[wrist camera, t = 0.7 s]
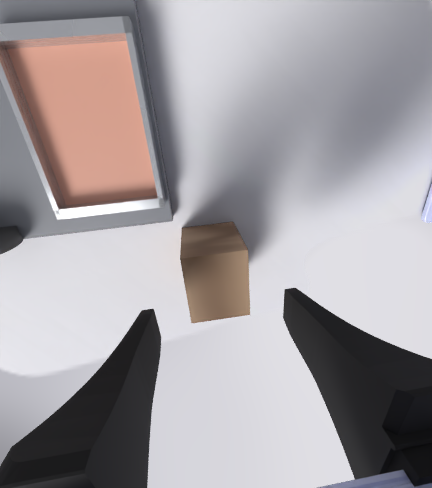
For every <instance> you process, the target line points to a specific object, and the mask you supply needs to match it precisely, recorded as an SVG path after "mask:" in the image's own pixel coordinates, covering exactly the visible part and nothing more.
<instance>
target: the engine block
mask: <svg viewBox="0 0 432 488" xmlns="http://www.w3.org/2000/svg"><path fill="white" fill-rule="evenodd" d="M180 260H181V266H182V271H183V277H184V283H185V288H186V294H187V300H188V305H189V311H190V317H191V322H192V323H197V322H204V321H211V320H218V319H224V318H231V317H238V316H244V315H250V298H249V265H248V249H247V247H246V245H245V243H244V241H243V239H242V238H241V236H240V234H239V232H238V230H237V228H236V226H235V224H234V223H233V222H226V223H218V224H210V225H202V226H194V227H186V228H182V236H181V255H180Z"/></svg>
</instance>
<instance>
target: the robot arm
mask: <svg viewBox="0 0 432 488" xmlns="http://www.w3.org/2000/svg"><path fill="white" fill-rule="evenodd" d="M421 219H422V221H424V222H427V223H430V222H432V184H431V188H430V191H429V194H428V197H427V200H426V204H425V207H424V210H423V213H422V217H421ZM283 318H284V321H285V323H286V326H287V328H288V331H289V333H290V335H291V337H292V339H293V341H294V343H295V344H296V346H297V348H298V350H299V352H300V353H301V355H302V357H303V359H304V360H305V362H306V364H307V366H308V368H309V370H310V371H311V373H312V375H313V377H314V379H315V381H316V383H317V385H318V388H319V390H320V392H321V395H322V397H323V399H324V401H325V404H326V406H327V409H328V411H329V413H330V416H331V418H332V420H333V423H334V425H335V428H336V430H337V433H338V435H339V438H340V440H341V443H342V446H343V448H344V450H345V453H346V456H347V459H348V461H349V464H350V467H351V470H352V472H353V475H354V478H355V480H351V481H346V482H342V483H337V484H332V485H328V486H323V487H318V488H432V359H430V358H426V357H423V356H421V355H418V354H415V353H413V352H410V351H407V350H405V349H402V348H399V347H397V346H395V345H392V344H390V343H387V342H385V341H383V340H381V339H379V338H376V337H374V336H372V335H370V334H368V333H366V332H364V331H362V330H360V329H358V328H356V327H355V326H353V325H351V324H349V323H347V322H345V321H344V320H342V319H341V318H339V317H337V316H336V315H334V314H333V313H331V312H329V311H328V310H326V309H325V308H323V307H322V306H320V305H319V304H318V303H316V302H315V301H313V300H312V299H311V298H309V297H308V296H306V295H305V294H304V293H302V292H301V291H299V290H298V289H296V288H291V289H285V294H284V314H283ZM160 348H161V335H160V331H159V327H158V324H157V320H156V316H155V312H154V309H148V310H142V311H141V312H140V314H139V315H138V317H137V319H136V320H135V322H134V323H133V325H132V326H131V328H130V329H129V331H128V332H127V334H126V335H125V336H124V338H123V339H122V341H121V342H120V343H119V345H118V346H117V347H116V349H115V350H114V351H113V353H112V354H111V355H110V356H109V358H108V359H107V360H106V361H105V363H104V364H103V365H102V366H101V368H100V369H99V370H98V371H97V372H96V373H95V374H94V375H93V376H92V377H91V379H90V380H89V381H88V382H87V383H86V384H85V385H84V386H83V387H82V388H81V389H80V390H79V391H78V392H77V393H76V394H75V395H74V396H72V397H71V398H70V399H69V400H68V401H67V402H66V403H65V404H64V405H63V406H62V407H61V408H60V409H58V410H57V411H56V412H55V413H54V414H52V415H51V416H50V417H49V418H48V419H47V420H45V421H44V422H43V423H42V424H41V425H39V426H38V427H37V428H35V429H34V430H33V431H32V432H30V433H29V434H28V435H27V436H25V437H24V438H23V439H21V440H20V441H19V442H18V443H16V444H15V445H14V446H12V447H11V449H10V451H9V452H8V454H7V456H6V457H5V459H4V461H3V462H2V464H1V466H0V488H147V479H148V477H147V476H148V457H149V455H148V454H149V440H150V439H149V438H150V425H151V410H152V403H153V396H154V390H155V384H156V378H157V372H158V365H159V359H160Z"/></svg>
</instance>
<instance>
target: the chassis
mask: <svg viewBox="0 0 432 488" xmlns="http://www.w3.org/2000/svg"><path fill="white" fill-rule="evenodd" d="M169 221H173V213H172V207H171V201H170V196H169V190H168V184H167V178H166V173H165V167H164V161H163V156H162V150H161V144H160V139H159V133H158V127H157V122H156V116H155V110H154V104H153V99H152V93H151V87H150V82H149V76H148V70H147V65H146V59H145V53H144V48H143V42H142V36H141V30H140V25H139V19H138V13H137V8H136V2H135V0H0V254H2V253H5V252H7V251H9V250H11V249H13V248H15V247H16V246H18V245H19V244H20V243H21V242H22V241H23V239H28V238H36V237H45V236H53V235H61V234H70V233H78V232H86V231H94V230H103V229H111V228H119V227H128V226H136V225H144V224H152V223H161V222H169Z"/></svg>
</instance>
